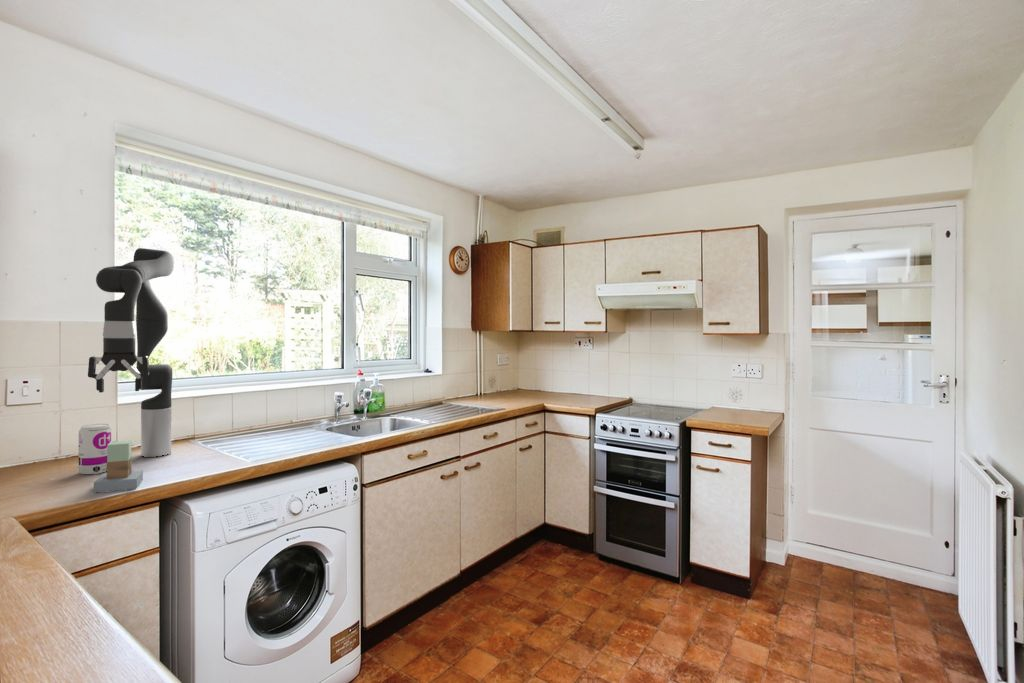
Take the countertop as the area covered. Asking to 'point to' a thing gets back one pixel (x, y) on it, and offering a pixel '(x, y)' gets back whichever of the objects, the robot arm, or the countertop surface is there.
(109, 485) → the slate base
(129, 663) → the countertop surface
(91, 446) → the supplement can
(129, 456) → the sage cube
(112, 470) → the walnut cube
